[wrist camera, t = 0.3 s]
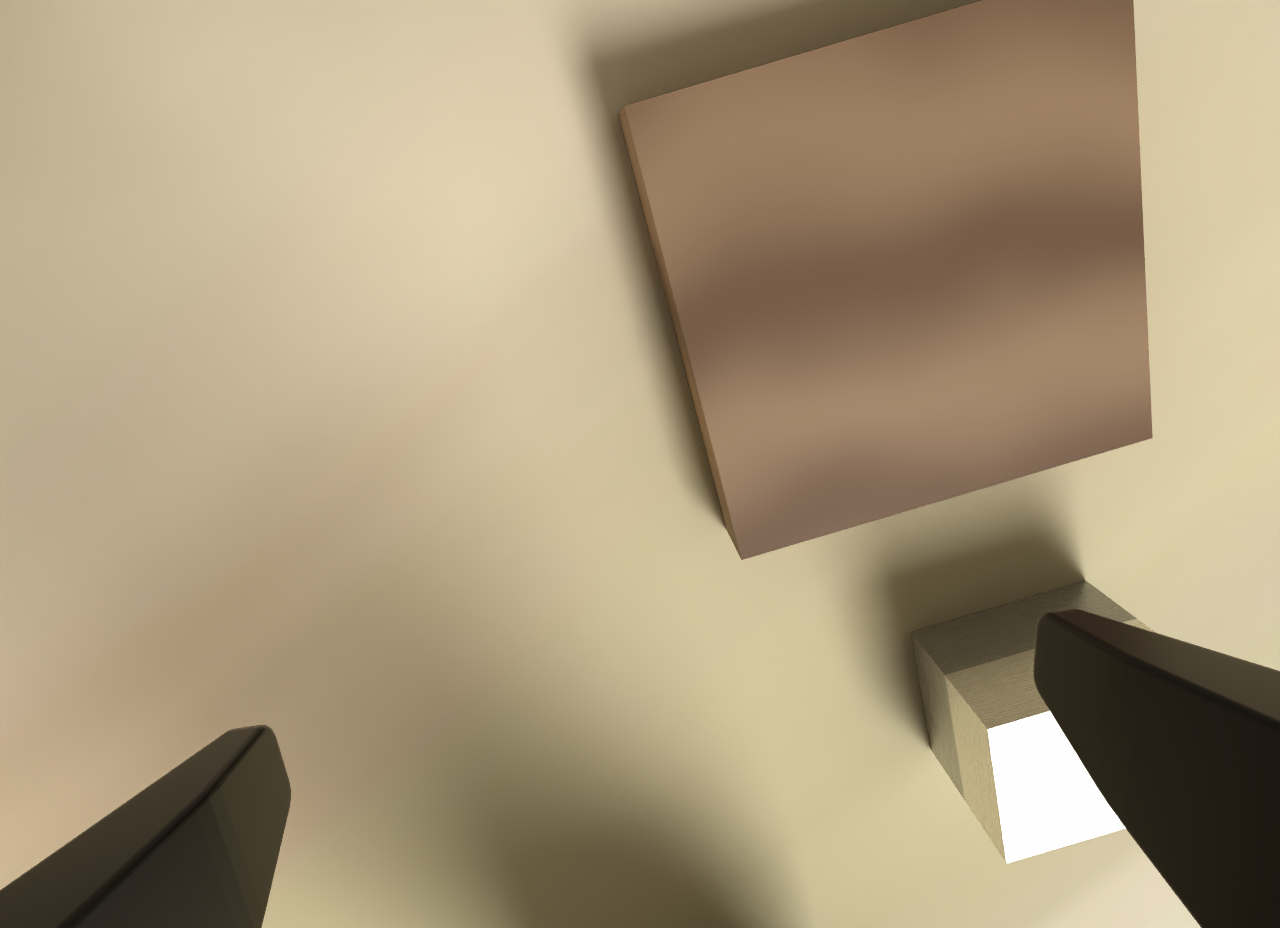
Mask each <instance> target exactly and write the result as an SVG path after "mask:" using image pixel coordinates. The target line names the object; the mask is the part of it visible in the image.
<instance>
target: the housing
mask: <svg viewBox="0 0 1280 928" xmlns="http://www.w3.org/2000/svg"><path fill="white" fill-rule="evenodd" d="M1065 609H1080V610H1084V611H1087V612H1090V613H1093V614H1097V615H1100V616H1103V617H1106V618H1110V619H1113V620H1116V621H1119V622H1122V623H1126V624H1129V625H1132V626H1135V627H1139V628H1142V629H1145V630H1148V631H1151V632H1154V631H1153V630H1151V629H1150V628H1149V627H1147V626H1146V625H1145V624H1143V623H1142V622H1141V621H1139V620H1138V619H1136V618H1135V617H1134V616H1132V615H1131V614H1130V613H1128V612H1127V611H1126V610H1124V609H1123V608H1122V607H1120V606H1119V605H1118V604H1116V603H1115V602H1114V601H1112V600H1111V599H1110V598H1108V597H1107V596H1106V595H1104V594H1103V593H1102V592H1100V591H1099V590H1098V589H1096V588H1095V587H1094V586H1092V585H1091V584H1089V583H1088V582H1087V581H1082V582H1079V583H1075V584H1072V585H1068V586H1065V587H1062V588H1058V589H1055V590H1052V591H1048V592H1045V593H1041V594H1038V595H1035V596H1031V597H1028V598H1025V599H1021V600H1018V601H1015V602H1011V603H1008V604H1004V605H1001V606H998V607H994V608H991V609H988V610H984V611H981V612H977V613H974V614H971V615H967V616H964V617H961V618H957V619H954V620H950V621H947V622H944V623H940V624H937V625H934V626H930V627H927V628H923V629H920V630H917V631H913V632H911V637H912V643H913V648H914V654H915V660H916V665H917V671H918V677H919V682H920V688H921V694H922V699H923V705H924V711H925V716H926V722H927V728H928V733H929V739H930V745H931V750H932V752H933V753H934V755H935V756H936V758H937V759H938V761H939V762H940V764H941V765H942V767H943V768H944V770H945V771H946V773H947V774H948V776H949V777H950V779H951V780H952V782H953V783H954V785H955V786H956V788H957V789H958V791H959V792H960V794H961V795H962V797H963V798H964V800H965V801H966V803H967V804H968V806H969V807H970V809H971V810H972V812H973V813H974V815H975V816H976V818H977V819H978V821H979V822H980V824H981V825H982V827H983V828H984V830H985V831H986V833H987V834H988V836H989V837H990V839H991V840H992V842H993V843H994V845H995V846H996V848H997V849H998V851H999V852H1000V854H1001V855H1002V857H1003V858H1004V860H1005V861H1006V863H1009V862H1013V861H1016V860H1020V859H1023V858H1026V857H1030V856H1033V855H1036V854H1040V853H1043V852H1047V851H1050V850H1053V849H1057V848H1060V847H1063V846H1067V845H1070V844H1074V843H1077V842H1080V841H1084V840H1087V839H1090V838H1094V837H1097V836H1100V835H1104V834H1107V833H1111V832H1114V831H1117V830H1121V829H1124V828H1125V827H1124V825H1123V824H1122V823H1121V821H1120V820H1119V819H1118V817H1117V816H1116V814H1115V813H1114V812H1113V810H1112V809H1111V808H1110V806H1109V805H1108V803H1107V802H1106V800H1105V799H1104V797H1103V796H1102V794H1101V793H1100V791H1099V790H1098V788H1097V787H1096V785H1095V784H1094V782H1093V780H1092V779H1091V777H1090V776H1089V774H1088V772H1087V771H1086V769H1085V767H1084V766H1083V764H1082V763H1081V761H1080V759H1079V758H1078V756H1077V754H1076V753H1075V751H1074V750H1073V748H1072V746H1071V745H1070V743H1069V742H1068V740H1067V738H1066V737H1065V735H1064V733H1063V732H1062V730H1061V729H1060V727H1059V725H1058V724H1057V722H1056V720H1055V719H1054V717H1053V716H1052V714H1051V712H1050V711H1049V709H1048V708H1047V706H1046V704H1045V703H1044V701H1043V699H1042V698H1041V696H1040V694H1039V692H1038V690H1037V688H1036V685H1035V682H1034V676H1033V666H1034V653H1035V639H1036V626H1037V621H1038V619H1039V617H1040V616H1041V615H1042V614H1044V613H1046V612H1051V611H1058V610H1065Z"/></svg>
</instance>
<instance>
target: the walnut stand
mask: <svg viewBox="0 0 1280 928" xmlns="http://www.w3.org/2000/svg"><path fill="white" fill-rule="evenodd" d="M618 116H619V119H620V123H621V127H622V131H623V135H624V139H625V142H626V146H627V150H628V154H629V158H630V161H631V165H632V169H633V173H634V177H635V181H636V184H637V188H638V192H639V196H640V200H641V204H642V207H643V211H644V215H645V219H646V223H647V226H648V230H649V234H650V238H651V242H652V246H653V249H654V253H655V257H656V261H657V265H658V269H659V272H660V276H661V280H662V284H663V288H664V291H665V295H666V299H667V303H668V307H669V311H670V314H671V318H672V322H673V326H674V330H675V334H676V337H677V341H678V345H679V349H680V353H681V356H682V360H683V364H684V368H685V372H686V376H687V379H688V383H689V387H690V391H691V395H692V399H693V402H694V406H695V410H696V414H697V418H698V421H699V425H700V429H701V433H702V437H703V441H704V444H705V448H706V452H707V456H708V460H709V464H710V467H711V471H712V475H713V479H714V483H715V486H716V490H717V494H718V498H719V502H720V506H721V509H722V513H723V517H724V521H725V525H726V529H727V532H728V534H729V536H730V538H731V540H732V542H733V544H734V546H735V548H736V550H737V552H738V554H739V556H740V558H741V560H743V559H746V558H750V557H753V556H756V555H760V554H763V553H767V552H770V551H773V550H777V549H780V548H783V547H787V546H790V545H793V544H797V543H800V542H804V541H807V540H810V539H814V538H817V537H820V536H824V535H827V534H831V533H834V532H837V531H841V530H844V529H847V528H851V527H854V526H857V525H861V524H864V523H868V522H871V521H874V520H878V519H881V518H884V517H888V516H891V515H895V514H898V513H901V512H905V511H908V510H911V509H915V508H918V507H921V506H925V505H928V504H932V503H935V502H938V501H942V500H945V499H948V498H952V497H955V496H959V495H962V494H965V493H969V492H972V491H975V490H979V489H982V488H985V487H989V486H992V485H996V484H999V483H1002V482H1006V481H1009V480H1012V479H1016V478H1019V477H1023V476H1026V475H1029V474H1033V473H1036V472H1039V471H1043V470H1046V469H1049V468H1053V467H1056V466H1060V465H1063V464H1066V463H1070V462H1073V461H1076V460H1080V459H1083V458H1087V457H1090V456H1093V455H1097V454H1100V453H1103V452H1107V451H1110V450H1113V449H1117V448H1120V447H1124V446H1127V445H1130V444H1134V443H1137V442H1140V441H1144V440H1147V439H1151V438H1152V418H1151V395H1150V372H1149V349H1148V326H1147V304H1146V281H1145V258H1144V235H1143V212H1142V190H1141V167H1140V144H1139V121H1138V99H1137V76H1136V53H1135V30H1134V7H1133V0H981V1H978V2H974V3H971V4H968V5H964V6H961V7H957V8H954V9H951V10H947V11H944V12H941V13H937V14H934V15H930V16H927V17H924V18H920V19H917V20H913V21H910V22H907V23H903V24H900V25H897V26H893V27H890V28H886V29H883V30H880V31H876V32H873V33H869V34H866V35H863V36H859V37H856V38H853V39H849V40H846V41H842V42H839V43H836V44H832V45H829V46H825V47H822V48H819V49H815V50H812V51H809V52H805V53H802V54H798V55H795V56H792V57H788V58H785V59H781V60H778V61H775V62H771V63H768V64H765V65H761V66H758V67H754V68H751V69H748V70H744V71H741V72H737V73H734V74H731V75H727V76H724V77H721V78H717V79H714V80H710V81H707V82H704V83H700V84H697V85H693V86H690V87H687V88H683V89H680V90H677V91H673V92H670V93H666V94H663V95H660V96H656V97H653V98H649V99H646V100H643V101H639V102H636V103H633V104H629V105H626V106H624V107H623V108H622V110H621V111H620V112H619V113H618Z"/></svg>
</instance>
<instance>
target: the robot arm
mask: <svg viewBox="0 0 1280 928" xmlns="http://www.w3.org/2000/svg"><path fill="white" fill-rule="evenodd" d="M1033 676H1034V682H1035V685H1036V688H1037V690H1038V692H1039V694H1040V696H1041V698H1042V699H1043V701H1044V703H1045V704H1046V706H1047V708H1048V709H1049V711H1050V712H1051V714H1052V716H1053V717H1054V719H1055V720H1056V722H1057V724H1058V725H1059V727H1060V729H1061V730H1062V732H1063V733H1064V735H1065V737H1066V738H1067V740H1068V742H1069V743H1070V745H1071V746H1072V748H1073V750H1074V751H1075V753H1076V754H1077V756H1078V758H1079V759H1080V761H1081V763H1082V764H1083V766H1084V767H1085V769H1086V771H1087V772H1088V774H1089V776H1090V777H1091V779H1092V780H1093V782H1094V784H1095V785H1096V787H1097V788H1098V790H1099V791H1100V793H1101V794H1102V796H1103V797H1104V799H1105V800H1106V802H1107V803H1108V805H1109V806H1110V808H1111V809H1112V810H1113V812H1114V813H1115V814H1116V816H1117V817H1118V819H1119V820H1120V821H1121V823H1122V824H1123V825H1124V827H1125V828H1126V829H1127V831H1128V832H1129V833H1130V835H1131V836H1132V837H1133V839H1134V840H1135V841H1136V842H1137V844H1138V845H1139V846H1140V848H1141V849H1142V850H1143V852H1144V853H1145V854H1146V856H1147V857H1148V858H1149V860H1150V861H1151V862H1152V863H1153V865H1154V866H1155V867H1156V869H1157V870H1158V871H1159V873H1160V874H1161V875H1162V877H1163V878H1164V879H1165V881H1166V882H1167V883H1168V885H1169V886H1170V887H1171V888H1172V890H1173V891H1174V892H1175V894H1176V895H1177V896H1178V898H1179V899H1180V900H1181V902H1182V903H1183V904H1184V906H1185V907H1186V908H1187V909H1188V911H1189V912H1190V913H1191V915H1192V916H1193V917H1194V919H1195V920H1196V921H1197V923H1198V924H1199V925H1200V927H1201V928H1280V671H1277V670H1274V669H1271V668H1268V667H1264V666H1261V665H1258V664H1255V663H1252V662H1248V661H1245V660H1242V659H1239V658H1235V657H1232V656H1229V655H1226V654H1223V653H1219V652H1216V651H1213V650H1210V649H1206V648H1203V647H1200V646H1197V645H1193V644H1190V643H1187V642H1184V641H1181V640H1177V639H1174V638H1171V637H1168V636H1164V635H1161V634H1158V633H1155V632H1151V631H1148V630H1145V629H1142V628H1139V627H1135V626H1132V625H1129V624H1126V623H1122V622H1119V621H1116V620H1113V619H1110V618H1106V617H1103V616H1100V615H1097V614H1093V613H1090V612H1087V611H1084V610H1080V609H1065V610H1058V611H1051V612H1046V613H1044V614H1042V615H1041V616H1040V617H1039V619H1038V621H1037V626H1036V639H1035V653H1034V666H1033ZM290 801H291V788H290V782H289V779H288V775H287V772H286V769H285V765H284V762H283V759H282V756H281V752H280V749H279V746H278V742H277V739H276V736H275V734H274V732H273V731H272V729H271V728H270V727H268V726H266V725H257V726H250V727H243V728H236V729H232V730H229V731H227V732H226V733H224V734H223V735H221V736H220V737H219V738H217V739H216V740H214V741H213V742H211V743H210V744H209V745H207V746H206V747H204V748H203V749H201V750H200V751H199V752H197V753H196V754H194V755H193V756H191V757H190V758H189V759H187V760H186V761H184V762H183V763H181V764H180V765H179V766H177V767H176V768H174V769H173V770H171V771H170V772H169V773H167V774H166V775H164V776H163V777H161V778H160V779H159V780H157V781H156V782H154V783H153V784H151V785H150V786H149V787H147V788H146V789H144V790H143V791H141V792H140V793H139V794H137V795H136V796H134V797H133V798H131V799H130V800H129V801H127V802H126V803H124V804H123V805H121V806H120V807H119V808H117V809H116V810H114V811H113V812H111V813H110V814H109V815H107V816H106V817H104V818H103V819H101V820H100V821H99V822H97V823H96V824H94V825H93V826H91V827H90V828H89V829H87V830H86V831H84V832H83V833H81V834H80V835H79V836H77V837H76V838H74V839H73V840H71V841H70V842H69V843H67V844H66V845H64V846H63V847H61V848H60V849H59V850H57V851H56V852H54V853H53V854H51V855H50V856H49V857H47V858H46V859H44V860H43V861H41V862H40V863H39V864H37V865H36V866H34V867H33V868H31V869H30V870H29V871H27V872H26V873H24V874H23V875H21V876H20V877H19V878H17V879H16V880H14V881H13V882H11V883H10V884H9V885H7V886H6V887H4V888H3V889H1V890H0V928H261V927H262V923H263V919H264V915H265V911H266V907H267V902H268V898H269V894H270V889H271V885H272V881H273V877H274V872H275V868H276V864H277V859H278V855H279V851H280V846H281V842H282V838H283V833H284V829H285V825H286V821H287V816H288V812H289V808H290Z"/></svg>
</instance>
